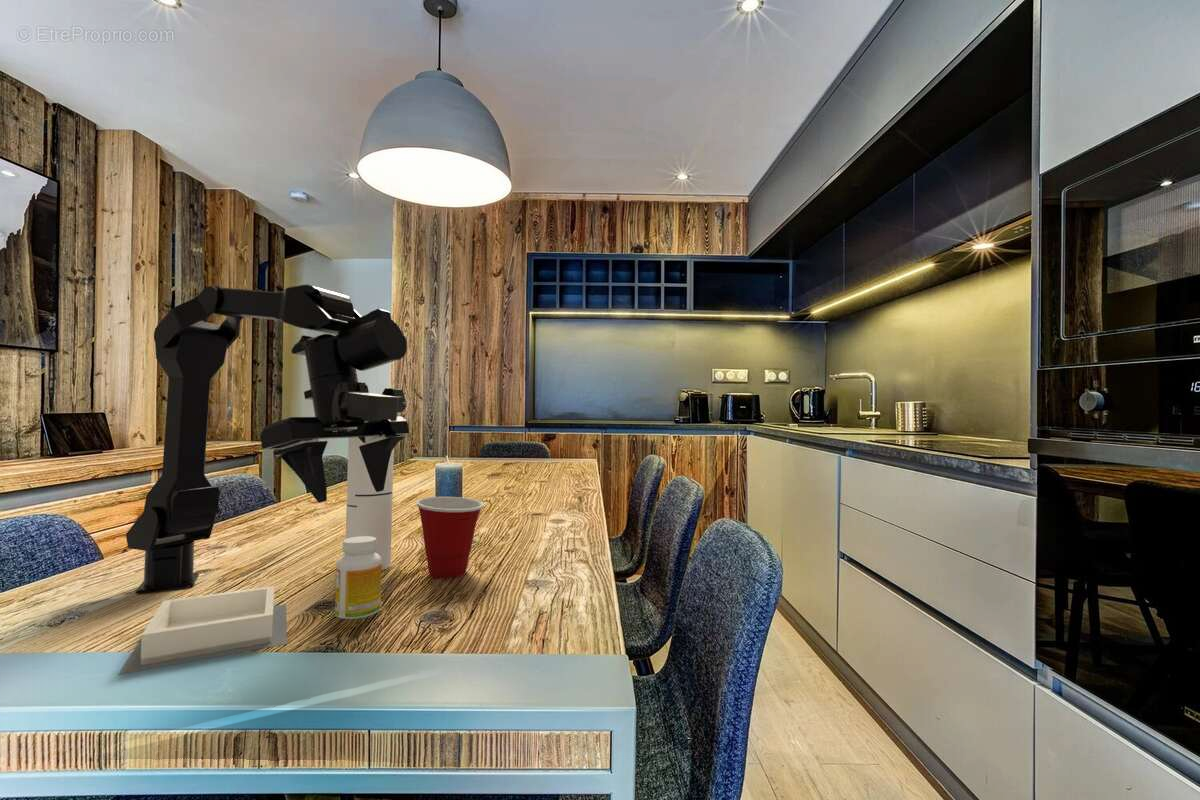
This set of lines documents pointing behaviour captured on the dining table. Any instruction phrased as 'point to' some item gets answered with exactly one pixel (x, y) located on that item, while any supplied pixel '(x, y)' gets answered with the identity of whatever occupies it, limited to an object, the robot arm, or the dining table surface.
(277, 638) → the mat
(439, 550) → the plastic cup
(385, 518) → the cylindrical container
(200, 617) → the dish
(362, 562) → the supplement bottle
